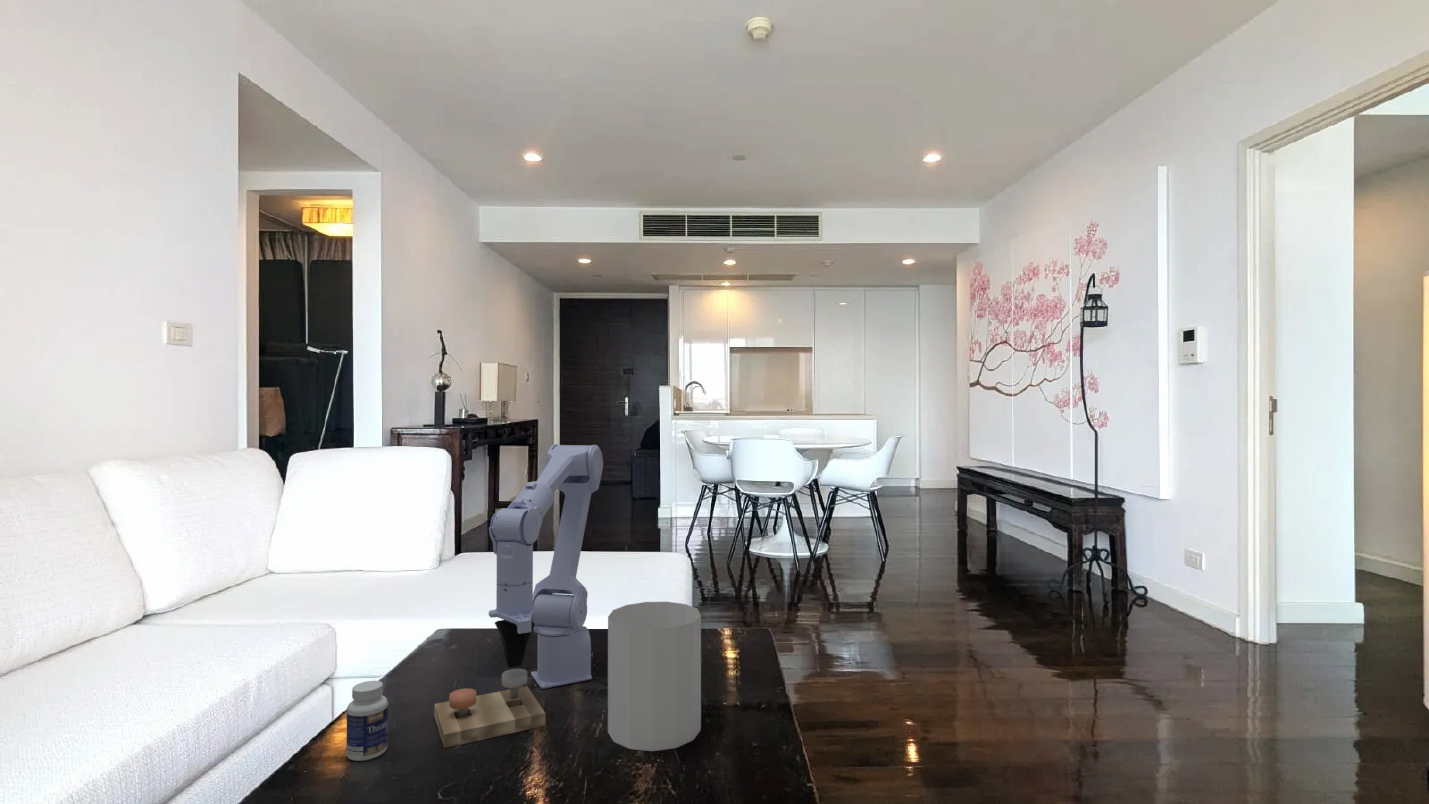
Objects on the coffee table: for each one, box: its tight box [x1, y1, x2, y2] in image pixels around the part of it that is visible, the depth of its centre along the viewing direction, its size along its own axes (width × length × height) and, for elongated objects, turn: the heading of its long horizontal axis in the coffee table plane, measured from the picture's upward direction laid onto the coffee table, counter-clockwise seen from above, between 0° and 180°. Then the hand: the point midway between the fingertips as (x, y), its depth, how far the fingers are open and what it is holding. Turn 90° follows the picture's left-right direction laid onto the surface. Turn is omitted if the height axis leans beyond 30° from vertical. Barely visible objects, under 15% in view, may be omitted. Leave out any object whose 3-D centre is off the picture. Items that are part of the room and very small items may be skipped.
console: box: [433, 685, 546, 749], centre depth 110 cm, size 15×12×2 cm
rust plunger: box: [448, 687, 477, 718], centre depth 108 cm, size 4×4×4 cm
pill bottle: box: [345, 680, 389, 762], centre depth 100 cm, size 5×5×10 cm
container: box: [607, 601, 702, 752], centre depth 108 cm, size 14×14×18 cm
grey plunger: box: [501, 668, 528, 699], centre depth 112 cm, size 4×4×4 cm
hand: (514, 665), depth 112 cm, fingers closed
